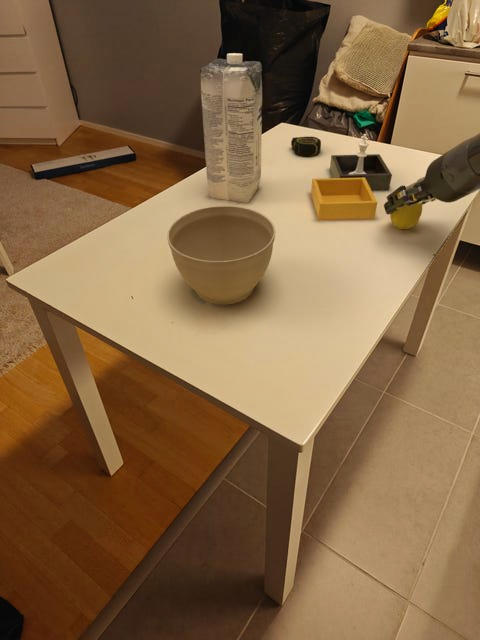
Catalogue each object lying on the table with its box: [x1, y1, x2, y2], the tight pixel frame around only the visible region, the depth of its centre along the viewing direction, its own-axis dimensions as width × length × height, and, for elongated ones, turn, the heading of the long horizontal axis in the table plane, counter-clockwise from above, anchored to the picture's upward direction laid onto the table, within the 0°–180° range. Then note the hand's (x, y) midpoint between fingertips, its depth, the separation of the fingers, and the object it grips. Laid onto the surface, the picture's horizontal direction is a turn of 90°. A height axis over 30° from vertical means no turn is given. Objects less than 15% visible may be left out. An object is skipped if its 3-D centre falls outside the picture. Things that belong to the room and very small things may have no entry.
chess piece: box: [349, 133, 369, 174], centre depth 101 cm, size 5×5×10 cm
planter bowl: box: [166, 205, 276, 305], centre depth 72 cm, size 16×16×11 cm
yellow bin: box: [310, 177, 378, 221], centre depth 94 cm, size 11×11×4 cm
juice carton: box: [199, 52, 263, 204], centre depth 92 cm, size 9×10×27 cm
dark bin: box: [329, 153, 393, 192], centre depth 103 cm, size 11×11×4 cm
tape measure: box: [290, 136, 322, 157], centre depth 115 cm, size 7×7×4 cm
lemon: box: [389, 194, 423, 230], centre depth 86 cm, size 6×6×8 cm
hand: (400, 205), depth 87 cm, fingers closed on lemon, 5 cm apart
